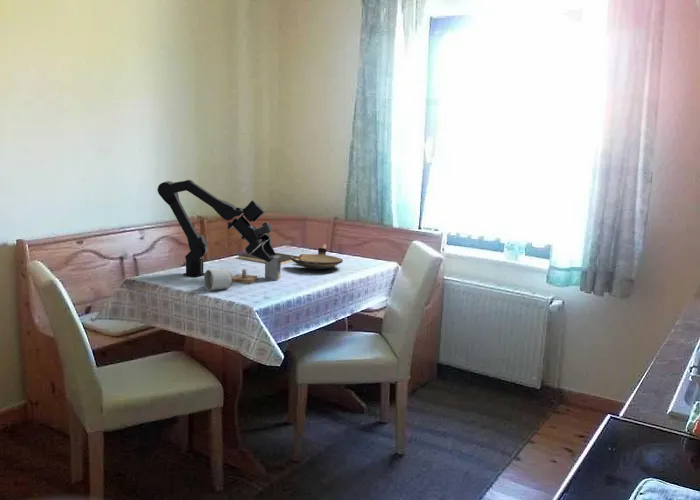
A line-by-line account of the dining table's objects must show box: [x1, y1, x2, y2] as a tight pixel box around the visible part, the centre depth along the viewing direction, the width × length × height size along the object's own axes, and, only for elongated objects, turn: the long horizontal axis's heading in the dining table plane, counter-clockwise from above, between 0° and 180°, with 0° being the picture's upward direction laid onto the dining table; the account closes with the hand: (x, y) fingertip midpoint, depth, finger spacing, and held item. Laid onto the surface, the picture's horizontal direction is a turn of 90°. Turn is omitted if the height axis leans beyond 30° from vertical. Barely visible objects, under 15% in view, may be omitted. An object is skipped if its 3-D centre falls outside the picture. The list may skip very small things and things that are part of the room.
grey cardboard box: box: [264, 255, 282, 281], centre depth 265 cm, size 6×5×9 cm
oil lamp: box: [290, 243, 344, 270], centre depth 290 cm, size 22×30×8 cm
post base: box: [232, 268, 258, 284], centre depth 261 cm, size 8×8×4 cm
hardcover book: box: [237, 251, 299, 266], centre depth 303 cm, size 16×23×2 cm
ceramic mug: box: [203, 268, 233, 292], centre depth 246 cm, size 11×8×8 cm
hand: (273, 259), depth 264 cm, fingers open, 9 cm apart
